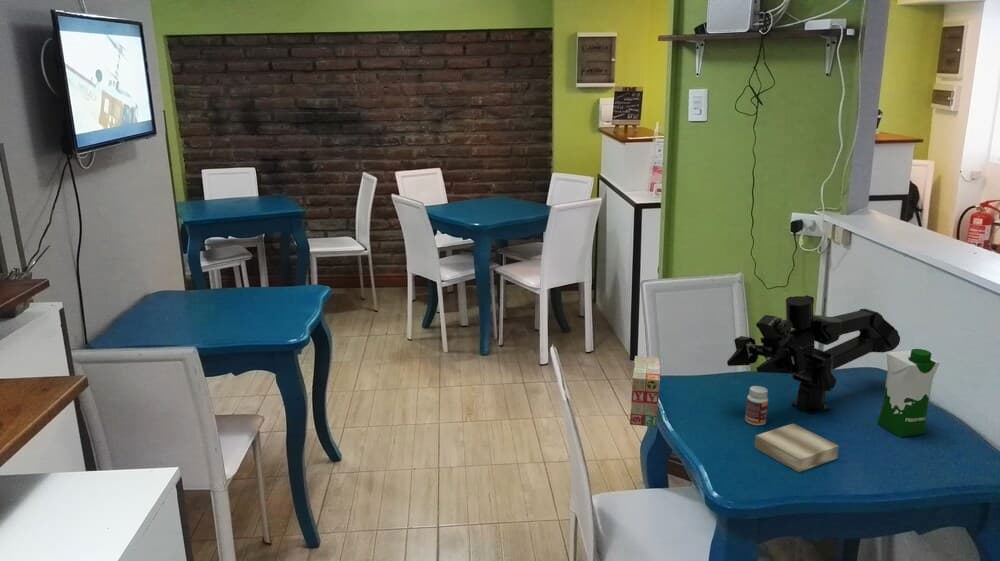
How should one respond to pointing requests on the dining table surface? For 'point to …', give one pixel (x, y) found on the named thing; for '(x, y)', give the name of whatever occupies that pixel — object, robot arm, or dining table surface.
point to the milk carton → (907, 392)
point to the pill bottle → (756, 406)
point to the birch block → (796, 447)
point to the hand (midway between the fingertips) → (742, 366)
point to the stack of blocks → (645, 391)
